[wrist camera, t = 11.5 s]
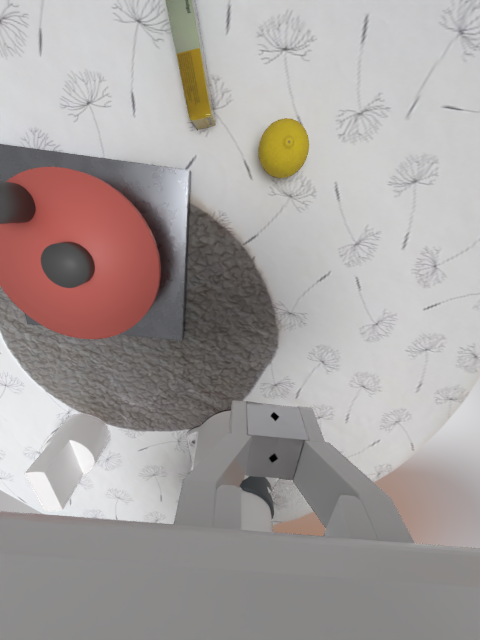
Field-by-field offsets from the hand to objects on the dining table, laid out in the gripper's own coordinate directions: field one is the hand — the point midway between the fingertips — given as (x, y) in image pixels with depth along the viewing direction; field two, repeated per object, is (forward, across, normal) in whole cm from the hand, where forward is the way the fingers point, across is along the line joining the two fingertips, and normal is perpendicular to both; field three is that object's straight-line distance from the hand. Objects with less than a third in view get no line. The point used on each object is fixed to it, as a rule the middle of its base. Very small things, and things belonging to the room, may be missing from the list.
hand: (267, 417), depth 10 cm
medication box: (+31, +9, -22) cm, 39 cm away
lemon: (+31, -2, -14) cm, 34 cm away
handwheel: (+25, +21, +1) cm, 32 cm away
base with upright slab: (+31, +27, +36) cm, 55 cm away
